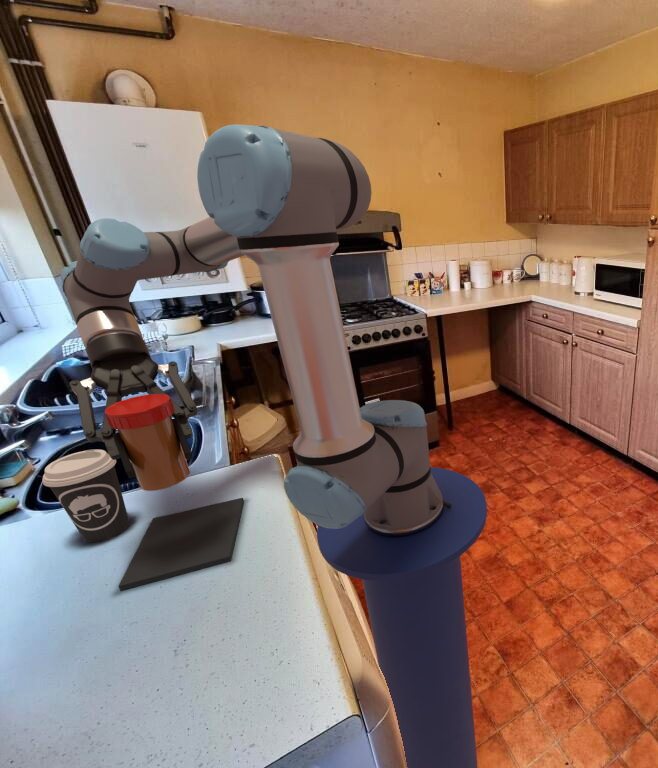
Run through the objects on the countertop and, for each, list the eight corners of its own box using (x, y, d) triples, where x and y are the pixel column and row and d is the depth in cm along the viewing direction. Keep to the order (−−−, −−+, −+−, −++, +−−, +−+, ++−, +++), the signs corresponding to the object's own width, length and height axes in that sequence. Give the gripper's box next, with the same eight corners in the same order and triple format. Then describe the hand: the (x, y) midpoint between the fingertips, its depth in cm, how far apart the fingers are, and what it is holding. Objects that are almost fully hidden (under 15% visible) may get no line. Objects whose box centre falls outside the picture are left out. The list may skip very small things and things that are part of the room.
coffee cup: (152, 516, 85) (126, 449, 80) (102, 551, 76) (68, 478, 71) (112, 511, 87) (83, 445, 81) (58, 545, 78) (21, 473, 72)
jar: (193, 464, 76) (170, 395, 71) (185, 484, 70) (159, 411, 65) (147, 473, 73) (120, 403, 68) (134, 495, 68) (103, 420, 63)
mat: (244, 501, 89) (242, 497, 88) (230, 560, 73) (229, 556, 73) (154, 522, 83) (152, 517, 83) (120, 591, 68) (118, 586, 68)
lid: (180, 403, 72) (175, 390, 71) (167, 423, 66) (162, 408, 65) (120, 412, 69) (115, 399, 69) (100, 434, 63) (94, 419, 62)
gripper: (187, 344, 82) (232, 450, 77) (39, 370, 69) (81, 499, 64) (184, 320, 76) (232, 434, 71) (23, 344, 64) (68, 483, 59)
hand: (160, 465), depth 68 cm, fingers closed on jar, 7 cm apart
